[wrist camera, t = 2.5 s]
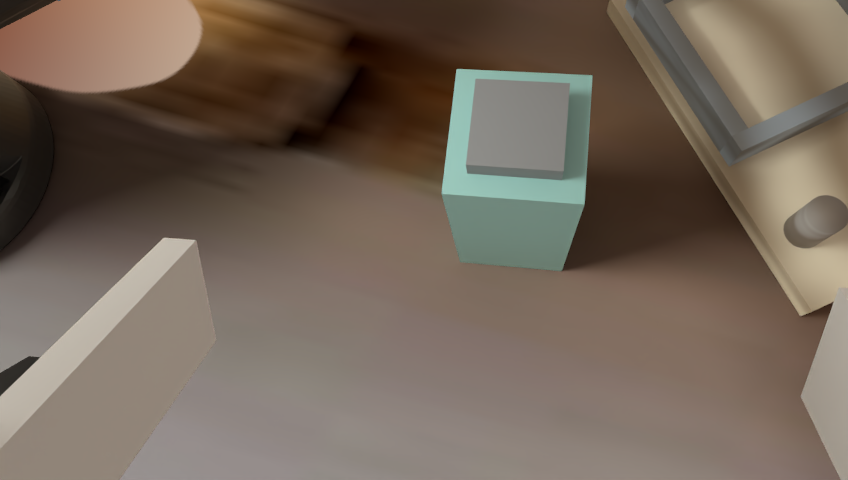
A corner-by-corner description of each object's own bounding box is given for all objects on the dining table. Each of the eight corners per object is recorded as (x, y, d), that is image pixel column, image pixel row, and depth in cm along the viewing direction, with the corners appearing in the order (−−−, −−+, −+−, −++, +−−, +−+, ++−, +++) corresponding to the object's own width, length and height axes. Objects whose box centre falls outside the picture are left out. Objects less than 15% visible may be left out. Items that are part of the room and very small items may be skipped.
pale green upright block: (561, 271, 39) (587, 196, 27) (460, 262, 40) (439, 185, 28) (568, 175, 41) (595, 63, 28) (470, 168, 42) (455, 57, 29)
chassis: (800, 316, 37) (838, 301, 33) (606, 12, 43) (617, -34, 39) (1012, 217, 37) (1078, 188, 33) (786, -72, 44) (817, -127, 39)
